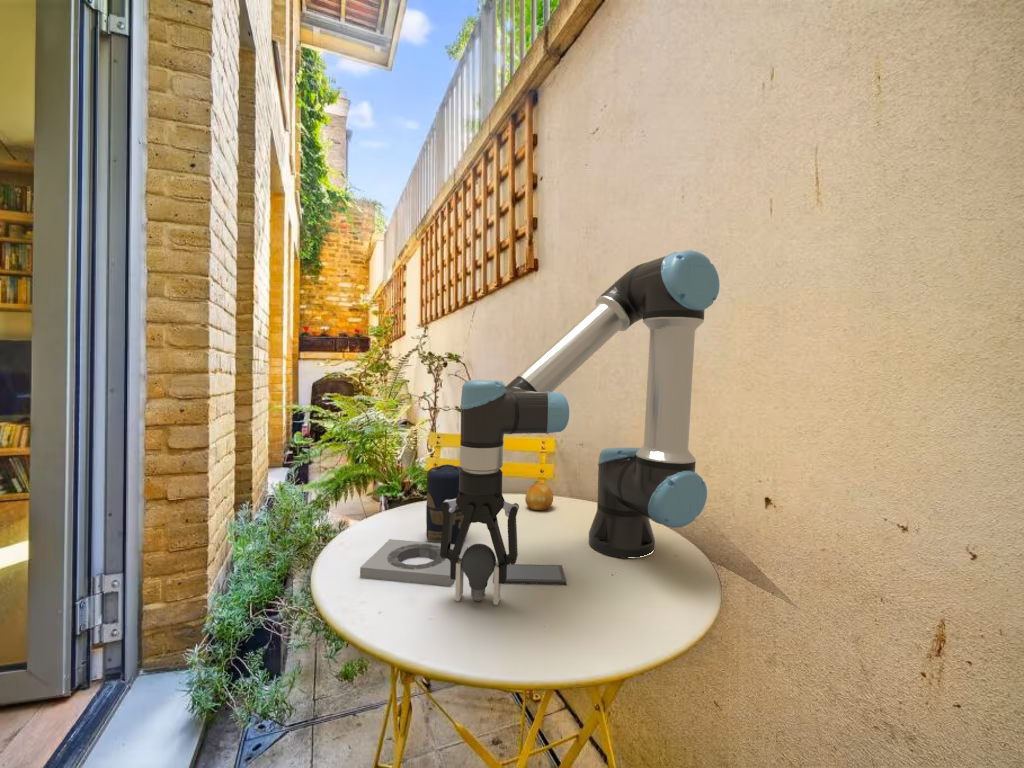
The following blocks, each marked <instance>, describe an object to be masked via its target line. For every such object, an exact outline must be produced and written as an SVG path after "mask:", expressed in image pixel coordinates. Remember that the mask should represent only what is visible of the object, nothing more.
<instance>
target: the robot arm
mask: <svg viewBox="0 0 1024 768" xmlns="http://www.w3.org/2000/svg"><path fill="white" fill-rule="evenodd" d="M719 293H720V277H719V274H718V270H717V269H716V267H715V265H714V264H713V263H712V262H711V260H710V259H709V258H708V256H706V255H705V254H704V253H702V252H700V251H698V250H693V249H688V250H687V249H686V250H682V251H678V252H677V251H676V252H675V251H674V252H671V253H668V254H667V255H664V256H662V257H659V258H656V259H653V260H651V261H648V262H644V263H640V264H638V265H637V264H636V265H635V266H634V267H633V268H631V269H630V270H628V271H627V272H626V273H624V274H623V275H622V276H620V278H619V279H617V280H616V281H615V282H614V283H613V284H612V285H611V286H609V287H608V288H607V289H606V290H605V291H604V292H603V293H601V295H600V296H598V298H597V299H596V300H595V306H594V307H592V309H591V310H589V312H588V313H586V314H585V315H584V316H583V317H582V318H581V319H580V320H578V321H577V322H576V323H575V324H574V325H573V326H572V327H571V328H570V329H568V330H567V331H566V332H565V333H564V334H563V335H562V336H561V337H560V338H558V339H557V341H555V342H554V343H553V344H552V345H551V346H550V347H549V348H548V349H546V350H545V351H544V352H543V353H542V354H540V356H539V357H537V358H536V359H534V361H533V362H532V363H531V364H529V365H528V366H527V367H526V368H525V369H524V370H523V371H522V372H521V373H519V374H518V376H516V377H515V378H514V379H513V380H511V381H510V382H509V383H508V384H507V385H505V383H504V382H503V381H502V380H492V379H488V380H487V379H486V380H485V379H470V380H469V379H468V380H467V381H464V383H463V384H462V387H461V397H460V405H459V408H460V442H459V463H458V464H459V465H458V466H460V467H461V468H462V469H461V470H460V472H459V494H458V496H457V498H456V499H452V500H450V499H446V500H445V501H444V502H443V503H442V504H441V509H442V512H443V526H442V538H441V549H440V556H441V558H447V559H449V560H450V577H451V579H454V581H455V594H454V595H455V596H454V600H455V601H457V602H458V601H461V598H462V596H463V594H464V575H465V573H464V571H463V568H462V557H460V558H459V555H460V554H461V550H462V547H463V545H464V544H465V542H466V538H467V536H468V532H469V529H470V527H471V524H474V523H475V524H476V523H480V524H485V525H486V528H487V530H488V531H489V535H490V539H491V542H492V546H493V549H494V554H495V557H496V564H495V567H494V571H493V575H494V584H493V601H492V602H493V603H492V604H493V605H498V604H499V602H500V599H501V586H502V585H506V584H505V581H506V578H507V565H508V564H517V559H518V555H519V554H518V531H517V529H518V528H517V527H518V526H517V515H518V512H519V508H520V505H519V504H518V503H516V502H514V503H510V502H507V501H506V500H505V498H504V496H503V474H504V473H503V471H502V469H501V468H502V467H503V465H504V462H503V461H504V435H513V434H514V435H515V434H516V435H517V434H518V435H519V434H522V435H523V434H546V435H548V434H553V433H561V432H563V431H564V430H566V427H567V426H568V424H569V420H570V406H569V402H568V400H567V397H566V396H565V395H564V394H563V393H561V392H555V390H556V389H557V388H558V387H559V386H561V385H562V384H563V383H564V382H565V381H566V380H567V379H568V378H570V376H571V375H573V374H574V373H575V372H576V371H577V370H578V369H579V368H580V367H581V366H583V364H585V363H586V362H587V361H588V360H589V359H590V358H591V357H592V356H593V355H594V354H595V353H596V352H598V351H599V350H600V349H601V348H602V347H603V346H604V345H605V344H606V343H607V342H608V341H609V340H611V338H613V337H614V336H615V335H616V334H617V333H618V332H624V331H627V330H628V329H629V328H630V327H631V326H632V325H634V324H635V323H636V322H639V321H641V320H642V323H643V324H644V325H645V326H646V327H647V328H648V330H649V341H648V342H649V345H648V346H649V347H648V362H647V363H648V366H647V380H646V396H645V397H646V399H645V414H644V415H645V416H644V417H645V418H644V434H643V445H642V447H610V448H609V447H608V448H603V449H601V451H600V452H599V456H598V462H597V467H598V477H597V502H596V503H597V508H596V513H595V515H594V517H593V521H592V523H591V525H590V528H589V531H588V544H589V546H590V547H591V548H592V549H593V550H595V551H596V552H599V553H601V554H604V555H607V556H610V557H613V558H614V557H615V558H619V557H623V558H622V559H629V558H628V557H640V556H644V555H647V554H649V553H651V552H652V551H653V550H654V548H655V549H656V539H655V534H654V532H653V528H652V526H651V525H652V523H651V522H650V519H651V520H652V521H653V522H655V523H657V524H660V525H663V526H665V527H668V528H675V529H677V528H683V527H686V526H688V525H689V524H691V523H692V522H694V521H695V520H696V518H698V517H699V516H700V514H702V512H703V510H704V507H705V505H706V503H707V500H708V499H707V498H708V488H707V485H706V482H705V481H704V480H703V477H701V475H699V474H698V473H697V472H696V464H697V463H696V461H697V459H696V457H695V456H694V455H693V454H692V453H691V452H690V450H689V441H690V438H689V437H690V426H691V425H690V423H691V421H690V420H691V410H692V409H691V405H692V391H693V390H692V389H693V388H692V387H693V370H694V369H693V368H694V353H695V340H696V339H695V338H696V337H695V336H696V330H697V329H698V328H699V327H700V326H701V325H702V324H703V323H705V310H706V309H708V308H709V307H711V306H712V305H713V304H714V301H715V300H717V299H718V296H719ZM456 506H458V507H459V509H460V510H461V512H462V513H463V515H464V518H463V521H462V524H461V528H460V531H459V534H458V537H457V540H456V542H455V544H454V548H453V550H452V549H450V548H451V537H452V526H453V515H454V511H455V509H456ZM502 509H503V510H504V514H505V515H504V516H506V517H507V541H508V543H507V545H508V554H507V550H506V546H505V544H504V540H503V538H502V537H503V535H502V534H501V529H500V527H499V521H498V517H497V516H498V514H499V513H500V512H501V511H502Z"/></svg>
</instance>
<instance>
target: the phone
mask: <svg viewBox="0 0 1024 768" xmlns="http://www.w3.org/2000/svg"><path fill="white" fill-rule="evenodd" d="M492 584H493V585H494V574H493V578H492ZM507 584H508V585H537V586H538V585H539V586H540V585H542V586H544V585H545V586H548V585H549V586H567V579H566V575H565V571H564V568H563V565H562V564H533V563H532V564H529V563H527V564H523V563H521V564H520V563H515V564H508V565H507V578H506V581H505V584H504V585H507Z"/></svg>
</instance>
